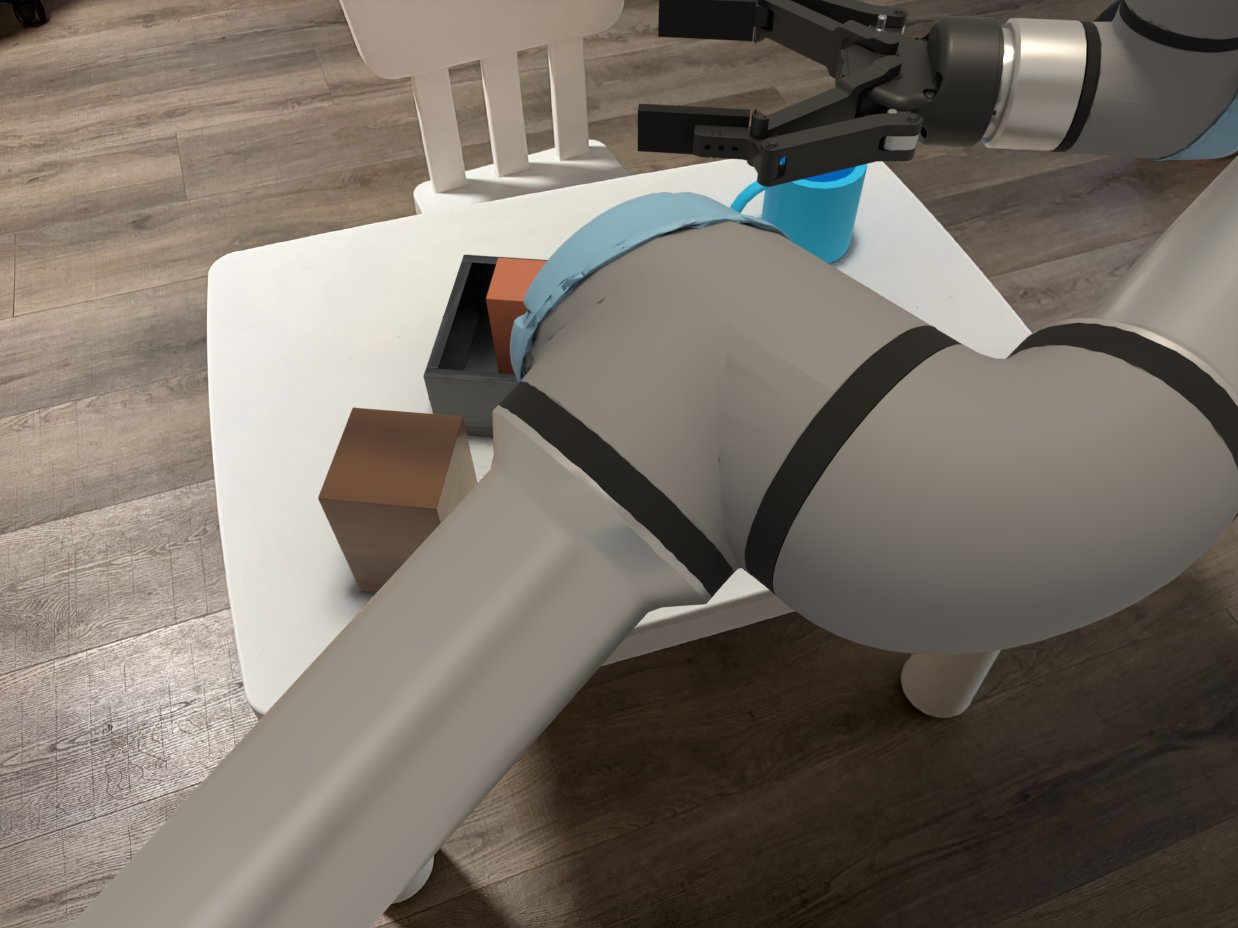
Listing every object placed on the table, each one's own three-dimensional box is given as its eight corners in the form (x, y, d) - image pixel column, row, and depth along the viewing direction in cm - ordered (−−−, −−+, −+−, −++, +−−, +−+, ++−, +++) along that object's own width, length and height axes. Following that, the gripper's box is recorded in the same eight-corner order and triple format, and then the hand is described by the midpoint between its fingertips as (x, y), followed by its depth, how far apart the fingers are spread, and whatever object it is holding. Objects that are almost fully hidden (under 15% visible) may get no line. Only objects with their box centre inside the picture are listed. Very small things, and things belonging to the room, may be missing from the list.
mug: (824, 201, 99) (838, 123, 92) (866, 254, 94) (885, 176, 87) (706, 230, 97) (711, 152, 90) (742, 286, 91) (752, 208, 84)
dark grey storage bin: (611, 446, 80) (609, 390, 74) (437, 432, 81) (422, 376, 75) (630, 323, 89) (630, 265, 83) (474, 311, 90) (463, 254, 84)
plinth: (463, 600, 71) (436, 508, 61) (359, 590, 71) (317, 498, 62) (484, 513, 75) (463, 415, 66) (387, 504, 76) (352, 406, 67)
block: (567, 389, 82) (560, 303, 74) (500, 383, 83) (485, 298, 75) (575, 348, 85) (569, 262, 77) (510, 343, 86) (497, 257, 78)
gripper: (996, 263, 54) (627, 239, 56) (953, 40, 69) (664, 27, 71) (1041, 148, 48) (627, 125, 50) (983, -68, 63) (667, -80, 65)
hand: (648, 67), depth 60 cm, fingers open, 13 cm apart
